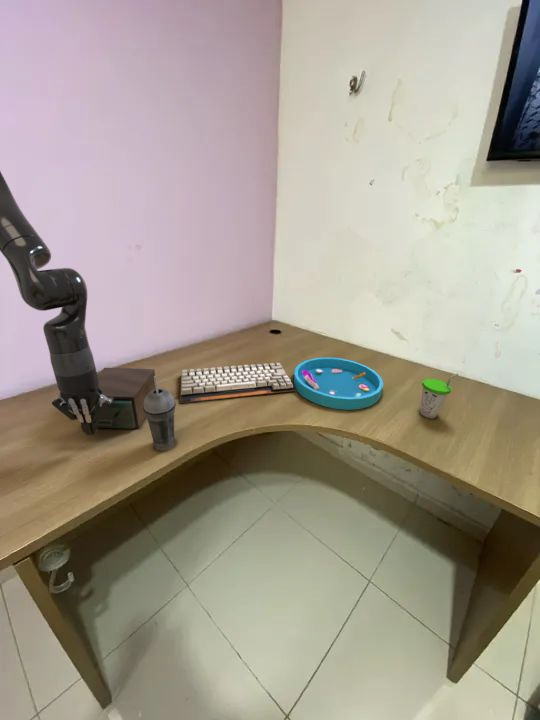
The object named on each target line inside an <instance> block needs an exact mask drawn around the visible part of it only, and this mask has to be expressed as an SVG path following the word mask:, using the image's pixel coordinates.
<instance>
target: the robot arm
mask: <svg viewBox="0 0 540 720" xmlns="http://www.w3.org/2000/svg"><path fill="white" fill-rule="evenodd" d="M0 253H1V254H2V256H3V257H4V258H5V259H6V261H7V263H8V264H9V265H8V266H9V267H10V269H11V271H12V273H13V275H14V279H15V281H16V282H15V283H16V284H17V288H18V292H19V294H20V297H21V298H22V301H23V302H24V303H25V304H26V305H28V306H29V307H30V308H32V309H34V310H36V311H40V312H45V311H51V310H56V309H59V308H61V309H60V311H59V314H57V315H56V316H54V317H52V318H51V319H49V320H47V321H46V322H45V323H43V327H42V328H43V334H44V338H45V341H46V344H47V349H48V353H49V360H50V365H51V369H52V371H53V374H54V379H55V382H56V385H57V388H58V391H59V395H58V396H57V397H56V398H54V400H53V401H52V402H51V405H52V406H53V407H54V408H55V409H57V410H58V411H60V412H61V413H62V414H63V415H64V416H66V418H68V419H69V420H71V421H75V420H76V421H78V422H79V423H80V425H81V429H82V432H83V433H84V434H85V436H94V435H95V433H96V432H97V430H98V429H99V427H98V425H97V421H98V420H99V419H100V417H101V416H102V415H103V414H104V412H105V411H106V410H107V408H108V407H109V406H110V404H111V403H112V402H113V400H114V398H113V397H109V398H107V397H106V396H104V395H102V391H101V389H100V388H99V381H98V376H97V374H98V372H97V368H96V364H95V359H94V354H93V351H92V349H91V346H90V343H89V339H88V334H87V329H86V317H87V308H88V307H87V305H88V294H89V293H88V286H87V284H86V281H85V279H84V278H83V276H82V275H81V274H80V273H79V272H78V271H77V270H75V269H74V268H71V267H59V268H58V267H57V268H51V269H42V268H44V267H45V266H47V265H48V264H49V263H50V261H51V259H52V252H51V250H50V248H49V247H48V245H47V243H45V241H44V239H42V237H41V236H40V235H39V233H38V232H37V231H36V229H35V228H34V226H32V224H31V223H30V221H29V220H28V218H27V216H26V215H25V214H24V212H23V211H22V210H21V207H20V206H19V204H18V203H17V200H16V198H15V197H14V195H13V193H12V191H11V188H10V187H9V185H8V182H7V181H6V179H5V177H4V175H3V174H2V172H1V170H0ZM40 269H42V270H40ZM99 400H100V407H101V408H100V409H99V410H98V412H96V404H97V402H98V401H99Z"/></svg>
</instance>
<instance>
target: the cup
mask: <svg viewBox="0 0 540 720" xmlns="http://www.w3.org/2000/svg"><path fill="white" fill-rule="evenodd" d="M458 376H459V373H455V374H453V375H451V376H449V378H448V379H447V382H445V381H444V380H440V379H437V378H426V379H425V378H424V379H423V381H422V382H421V386H422V392H421V400H420V407H419V408H420V409H419V414H420V415H421V416H423V417H424V418H427V419H436V418H437V416H438V414H439V412H440V410H441V408H442V406H443V405H444V403H445V400H446V399H447V397H448V395H449V394H451V391H452V389H453V387H452V386H451V385H450V383H451V381H452V379H454V378H455V377H458Z"/></svg>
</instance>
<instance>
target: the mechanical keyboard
mask: <svg viewBox="0 0 540 720" xmlns="http://www.w3.org/2000/svg"><path fill="white" fill-rule="evenodd" d="M287 392H296V388H295V387H294V384H293V380H292V378H290V377H289V376H288V374H287V372H286V371H285V369H284V368H283V365H282V364H281V363H280V362H275V363H274V362H271V363H269V364H268V363H256V364H250V365H249V364H244V365H242V364H241V365H237V366H236V365H230V367H229V366H223V367H222V366H217V367H214V366H213V367H210V368H208V367H203V369H202V368H196V369H195V368H189V369H181V374H180V376H179V404H187V403H199V402H207V401H216V400H224V399H233V398H242V397H249V396H250V397H251V396H259V395H267V394H277V393H279V394H280V393H287Z"/></svg>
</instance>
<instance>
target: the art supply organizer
mask: <svg viewBox="0 0 540 720" xmlns="http://www.w3.org/2000/svg"><path fill="white" fill-rule="evenodd" d="M293 387H294V389H295V391H296V392H298V393H299V394H300V395H301V396H302V397H303V398H305V399H306V400H308V401H310V402H312V403H314V404H316V405H319V406H322V407H326V408H330V409H334V410H346V411H352V410H353V411H354V410H362V409H367V408H369V407H371V406H373V405H375V404H377V403H378V401H379V400H380V398H381V396H382V392H383V388H384V380H383V379H382V377H381V376H380V375H379V374H378V373H377V372H376V371H375V370H374V369H372V368H370V367H369V366H367V365H364V364H362V363H360V362H357V361H353V360H350V359H345V358H340V357H339V358H338V357H316V358H310V359H307V360H304V361H302V362H301V363H299V364H298V365H297V366H296V367H295V369H294V376H293Z"/></svg>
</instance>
